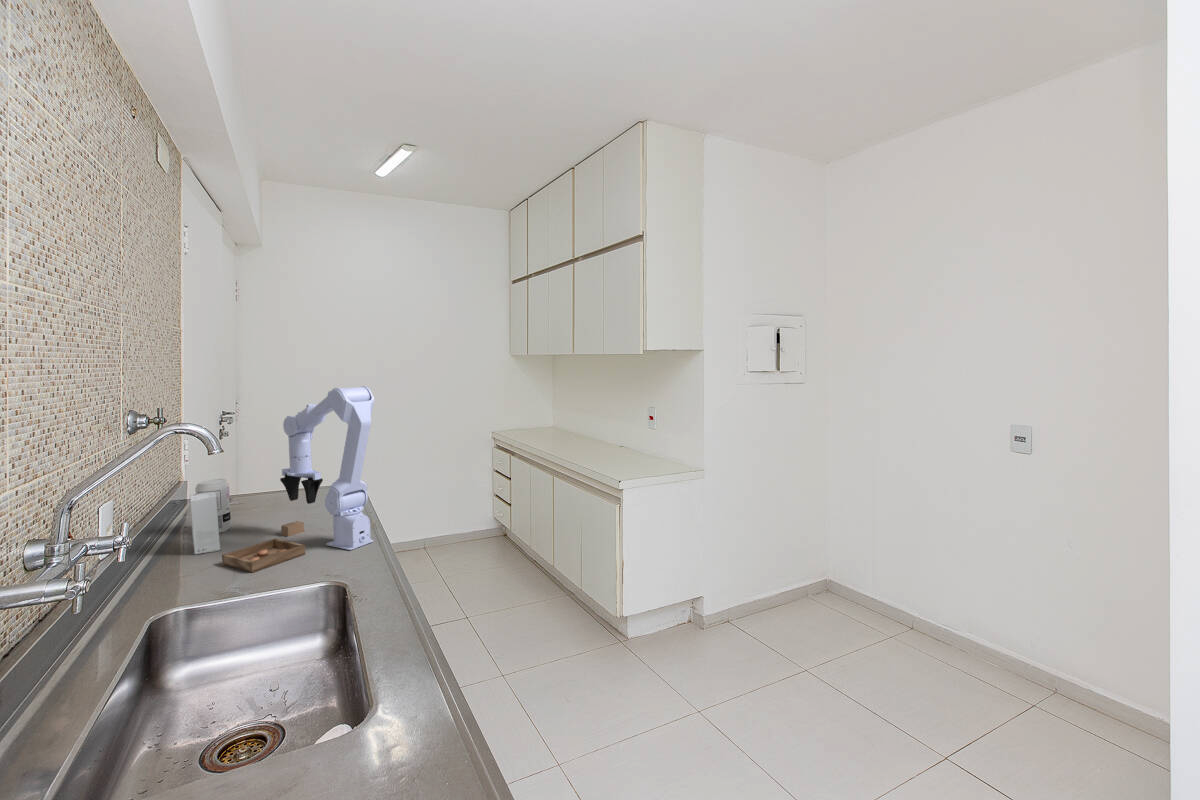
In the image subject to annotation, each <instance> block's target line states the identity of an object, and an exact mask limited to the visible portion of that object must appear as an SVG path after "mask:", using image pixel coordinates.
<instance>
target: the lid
mask: <svg viewBox="0 0 1200 800" xmlns="http://www.w3.org/2000/svg"><path fill="white" fill-rule="evenodd" d="M280 529H281V536H283V535H284V537H287V536H289V537H292V536H295V535H294V534H296V535H299V534H302V533H304V532H305V522H304V521H298V520H295V521H292V522H289V523H286V524H282V525H281V527H280ZM301 532H302V533H301ZM298 533H299V534H298ZM291 535H292V536H291Z"/></svg>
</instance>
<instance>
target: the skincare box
mask: <svg viewBox="0 0 1200 800" xmlns="http://www.w3.org/2000/svg"><path fill="white" fill-rule="evenodd" d="M189 498H190V500H189V506H190V521H191V523H190V524H191V525H190V526H191V535H192V543H193V544H192V545H193V551H194V552H193V553H194V555H198V554H199V555H200V554H204V553H215V552H219V551H221V542H220V533H219V530H218V516H217V502H216V493H215V492H209V493H202V494H196V493H195V494H191V495H190V497H189Z"/></svg>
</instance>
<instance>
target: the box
mask: <svg viewBox="0 0 1200 800" xmlns="http://www.w3.org/2000/svg"><path fill="white" fill-rule="evenodd" d="M305 555H306V544H301V543H299V542H298V543H297V542H292V541H289V540H288V541H287V540H284V539H280V538H279V539H278V538H274V539H269V540H267V541H263V542H260V543H257V544H253V545H250V546H247V547H243V548H240V549H237V550H234V551H229V552H227V553H223V554H221V560H222V561H221V562H222V565H223V566H227V567H230V568H234V569H237V570H240V571H244V572H247V573H251V574H253V573H254V574H255V573H257V572H259V571H262V570H265V569H267V568H271V567H274V566H276V565H279V564H282V563H284V562H288V561H291V560H294V559H295V558H299V557H302V556H305Z"/></svg>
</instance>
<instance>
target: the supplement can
mask: <svg viewBox="0 0 1200 800" xmlns="http://www.w3.org/2000/svg"><path fill="white" fill-rule="evenodd" d="M194 489H195V490H194V491H195V494H202V493H209V492H215V493H216V502H217V516H218V530H219V534H222V533H225V532H227V531H229V530H230V528H231V527H232V519H231V517H232V516H231V503H230V502H231V501H230V485H229V483H228V482H227V479H224V478H214V479H206V480H201V481H198V482H197V484H196V487H195V488H194ZM228 529H229V530H228ZM221 532H222V533H221Z"/></svg>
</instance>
